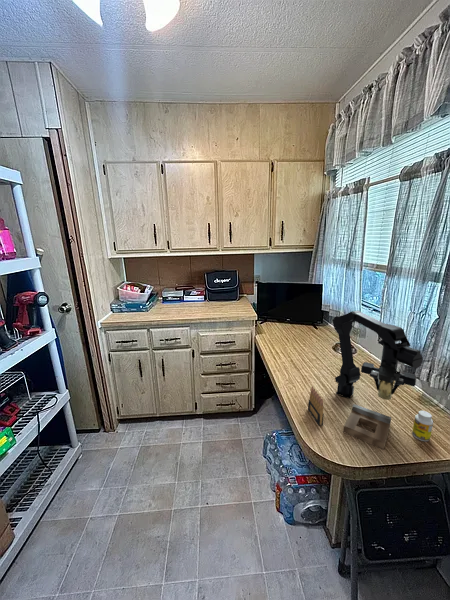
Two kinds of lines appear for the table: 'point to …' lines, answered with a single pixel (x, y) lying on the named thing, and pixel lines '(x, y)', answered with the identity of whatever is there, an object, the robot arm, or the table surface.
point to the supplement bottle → (422, 426)
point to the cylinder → (385, 390)
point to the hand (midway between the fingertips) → (385, 391)
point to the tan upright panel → (316, 406)
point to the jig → (368, 425)
